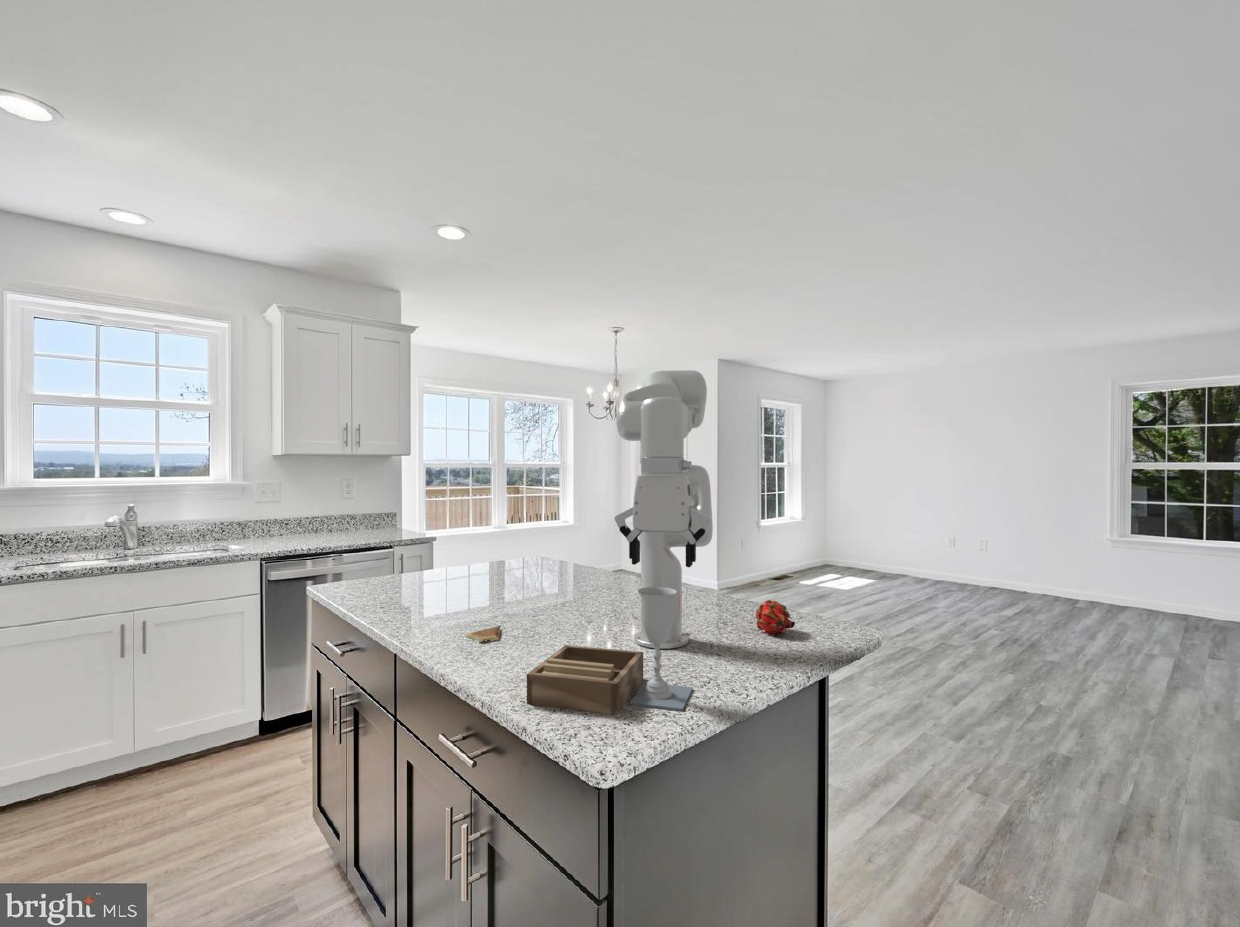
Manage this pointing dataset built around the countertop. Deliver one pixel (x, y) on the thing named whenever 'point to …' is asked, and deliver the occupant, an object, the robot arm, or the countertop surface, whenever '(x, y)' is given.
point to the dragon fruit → (773, 618)
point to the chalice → (657, 632)
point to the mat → (671, 703)
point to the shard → (485, 634)
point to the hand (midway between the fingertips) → (662, 564)
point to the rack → (587, 681)
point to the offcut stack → (579, 669)
